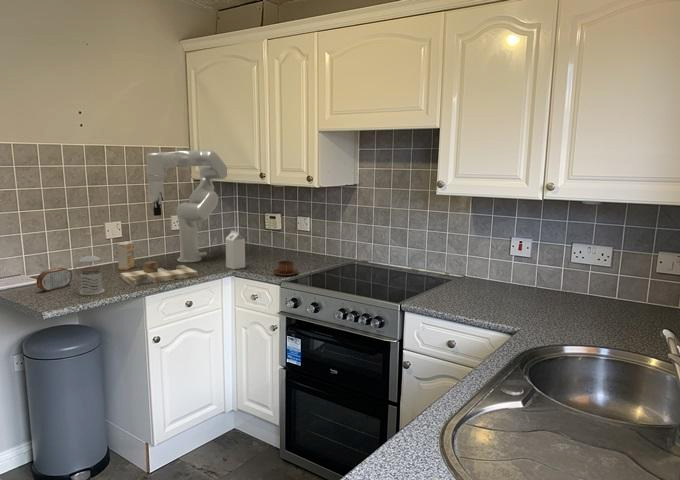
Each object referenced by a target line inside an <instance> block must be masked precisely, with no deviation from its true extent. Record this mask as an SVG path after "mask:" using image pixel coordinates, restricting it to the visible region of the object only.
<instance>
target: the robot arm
mask: <svg viewBox="0 0 680 480" xmlns="http://www.w3.org/2000/svg"><path fill="white" fill-rule="evenodd" d="M226 166H227V165H226V163H225V162H224V161H223V160H222V158H221V157H220V156H219V155H218V154H217V153H216V152H215V151H213V150H208V149H207V150H206V149H205V150H203V149H202V150H197V149H196V150H181V151H180V150H179V151H164V152H163V151H162V152H161V151H159V152H148V153H147V154H146V167H147V182H148V183H147V186H148V187H147V199H148V201H149V202H151V203H152V207H153V216H156V217H157V216H162V205H163V202H164V201H165V189H164V188H165V187H164V182H165V176H164V174H165V172H164V169H173V168H176V167H177V168H191V167H200V168H199V179H200V180H199V181H200V182H199V184H198V185H197V187H196V188H195V189H194V191H193V192H192V193H191V194H190V196H189V199H188V201H189V202H182V203H180V204H179V205H177V208H176V216H177V220H178V228H179V229H178V231H179V257H178V258H177V262H179V263H185V264H188V263H197V262H200V261H202V257H206V256H208V253H207V251H204V252H202V251H199V234H198V232H199V231H198V226H197V223H196V222H204V221H206V220H207V219H208V218H209V217H210V216H211V214H212V213H213V212H214V210H215V209H216V207H217V206H218V204H219V196H218V194H217V193H216V191H214V190H215V185H214V184H213V181H212V180H224V179H226V178H227V177H228V175H227V169H228V167H226Z"/></svg>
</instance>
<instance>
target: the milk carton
mask: <svg viewBox="0 0 680 480" xmlns="http://www.w3.org/2000/svg"><path fill="white" fill-rule="evenodd" d="M245 241H246V239H245V238H244V237H243V236H242V235H241V234H240V231H237V230H236V231H235V230H230V233H229V234H228V235H227V236H226V238H225V267H226V268H228V269H231V270H238V269H244V268H246V242H245Z"/></svg>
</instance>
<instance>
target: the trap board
mask: <svg viewBox="0 0 680 480" xmlns="http://www.w3.org/2000/svg"><path fill="white" fill-rule="evenodd" d="M119 274H120V279H121V280H122V281H124V282H126V283H127V284H128V285H130V286H131V287H137V286H143V285H149V284H155V283H162V282H163V281H164V282H169V280H171V281H175V279H177V280H183V279H182V278H184V279H189V278H188V277H191V278H198V270H195V269H193V268H191V267H188V266H186V265H184V264H181V265H176V269H174V270H173V269H172V270H167V269H164V268H162V267H159V268H158V272H153V273H146V272H144V269H142V270H136V271H130V272H121V273H119Z"/></svg>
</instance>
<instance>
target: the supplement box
mask: <svg viewBox="0 0 680 480" xmlns="http://www.w3.org/2000/svg"><path fill="white" fill-rule="evenodd" d="M134 246H135V245H134V241H123V242H121V243H117V257H118V259H117V260H118V270H119V271H129V270H130V269H132V268H134V267H135V250H134Z"/></svg>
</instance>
